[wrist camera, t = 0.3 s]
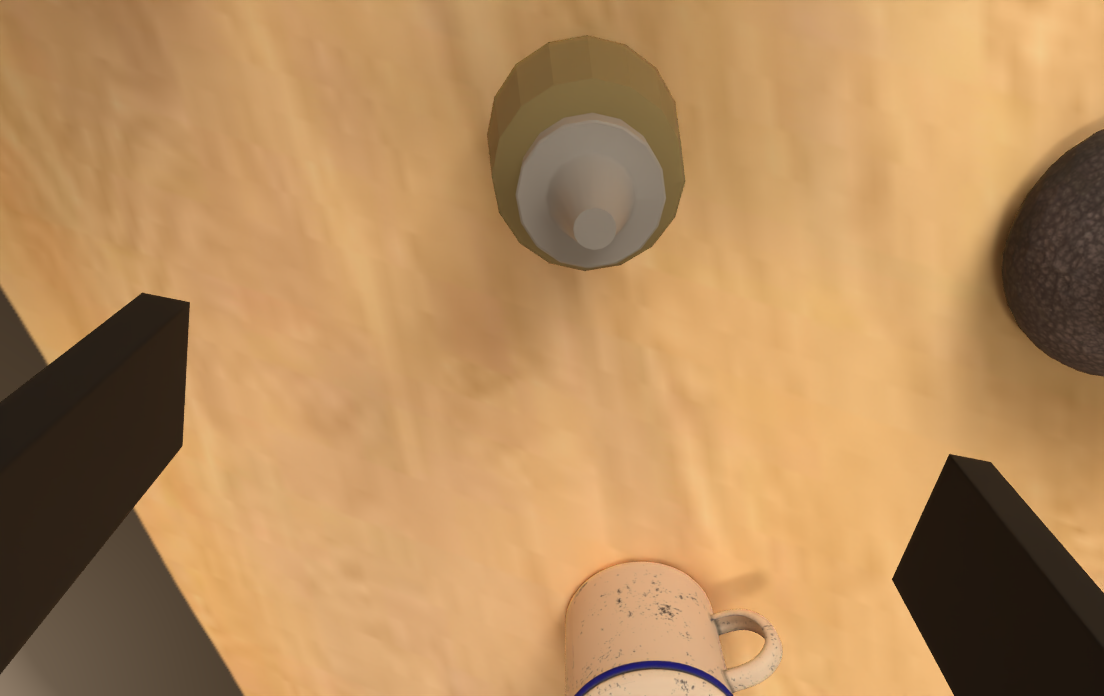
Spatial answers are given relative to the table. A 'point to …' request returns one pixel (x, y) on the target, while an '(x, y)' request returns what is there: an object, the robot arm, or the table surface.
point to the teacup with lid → (656, 637)
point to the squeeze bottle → (586, 153)
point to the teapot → (1062, 260)
